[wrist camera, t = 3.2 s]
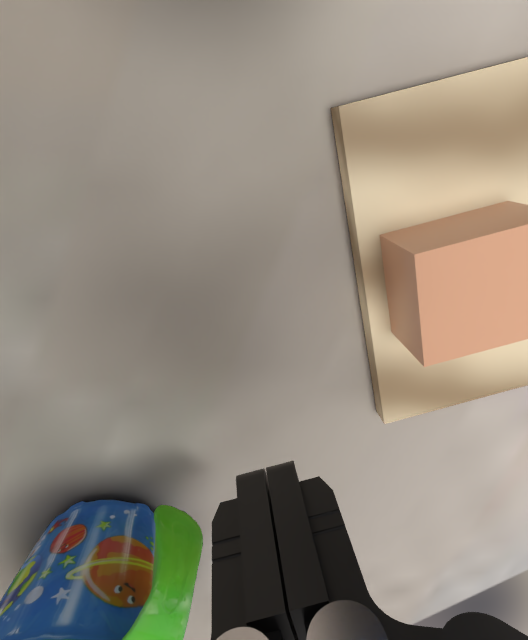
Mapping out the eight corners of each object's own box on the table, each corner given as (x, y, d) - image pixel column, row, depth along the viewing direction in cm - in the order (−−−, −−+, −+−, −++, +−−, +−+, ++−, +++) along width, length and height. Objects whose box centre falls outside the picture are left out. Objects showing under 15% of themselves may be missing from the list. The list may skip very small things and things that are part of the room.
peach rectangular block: (379, 234, 19) (414, 254, 16) (507, 200, 19) (568, 213, 16) (391, 332, 21) (424, 367, 18) (507, 300, 21) (560, 330, 18)
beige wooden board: (330, 108, 18) (338, 106, 17) (603, 36, 18) (629, 30, 17) (376, 411, 24) (384, 424, 23) (575, 356, 24) (592, 367, 23)
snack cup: (98, 636, 29) (47, 870, 20) (-46, 572, 25) (-193, 824, 16) (262, 506, 26) (291, 708, 17) (127, 411, 22) (68, 605, 13)
